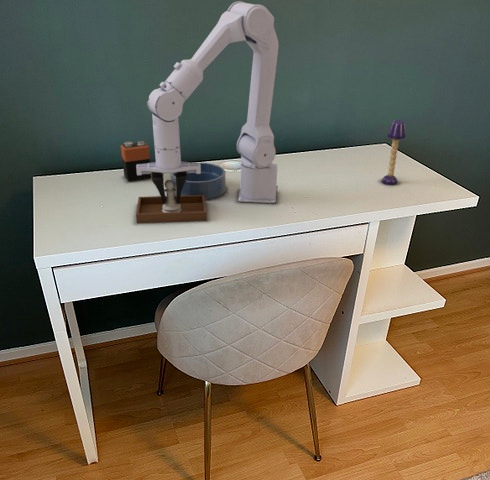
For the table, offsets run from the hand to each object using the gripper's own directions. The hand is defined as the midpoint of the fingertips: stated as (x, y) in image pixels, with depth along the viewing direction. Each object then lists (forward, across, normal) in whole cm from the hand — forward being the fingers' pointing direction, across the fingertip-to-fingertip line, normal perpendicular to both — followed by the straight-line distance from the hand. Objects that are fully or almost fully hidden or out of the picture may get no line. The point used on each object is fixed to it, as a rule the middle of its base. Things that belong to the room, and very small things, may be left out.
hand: (171, 202), depth 120 cm
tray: (+3, 0, 0) cm, 3 cm away
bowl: (+3, -7, -14) cm, 15 cm away
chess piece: (+2, 0, 0) cm, 2 cm away
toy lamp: (+3, -60, -15) cm, 62 cm away
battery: (+3, +10, -24) cm, 26 cm away
